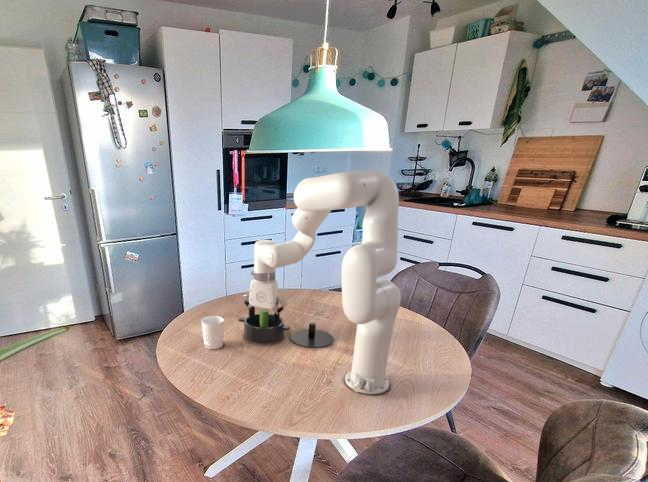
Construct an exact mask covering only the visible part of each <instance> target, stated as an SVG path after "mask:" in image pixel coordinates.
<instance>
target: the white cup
mask: <svg viewBox="0 0 648 482" xmlns="http://www.w3.org/2000/svg"><path fill="white" fill-rule="evenodd" d="M200 322H201V331H202V338H203V344H205V345H207V346H211V347H207V346H205V345H204V347H205V348H206V349H209V350H216V349H219V348H222V347H223V346H224V337H225V335H224V333H225V319H224V318H223V317H222V316H219V315H208V316H205V317H203V318H201V321H200ZM220 345H221V346H220ZM216 346H219V347H216Z"/></svg>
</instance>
